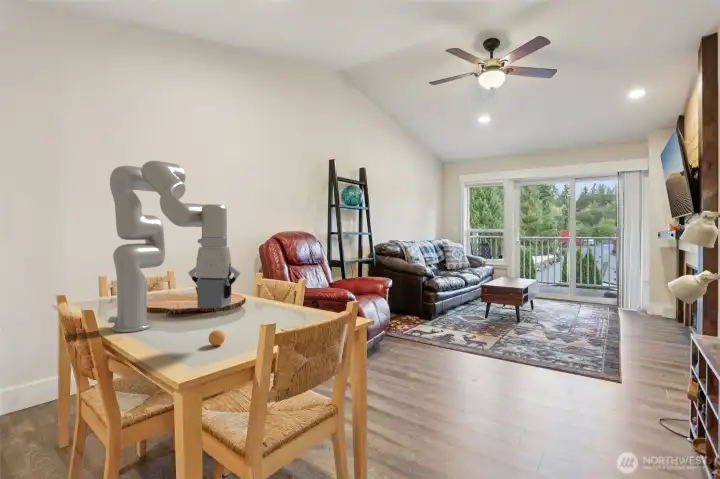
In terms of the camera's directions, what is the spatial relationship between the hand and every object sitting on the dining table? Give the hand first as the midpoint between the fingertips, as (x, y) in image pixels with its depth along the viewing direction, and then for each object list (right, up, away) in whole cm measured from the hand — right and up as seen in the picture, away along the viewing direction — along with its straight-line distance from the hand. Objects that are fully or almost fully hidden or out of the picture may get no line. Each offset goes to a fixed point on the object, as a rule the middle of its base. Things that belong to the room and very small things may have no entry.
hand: (214, 297), depth 123 cm
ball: (0, -13, +1) cm, 14 cm away
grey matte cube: (0, -3, 0) cm, 3 cm away
